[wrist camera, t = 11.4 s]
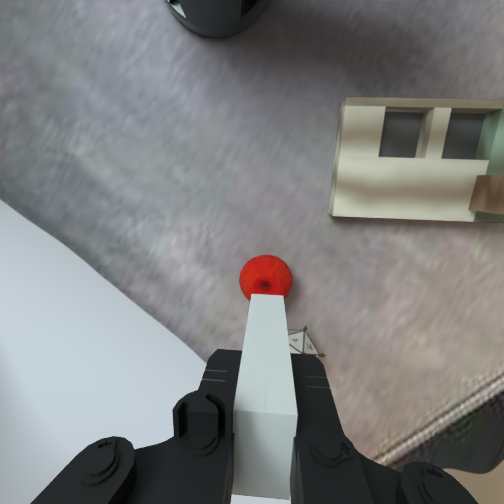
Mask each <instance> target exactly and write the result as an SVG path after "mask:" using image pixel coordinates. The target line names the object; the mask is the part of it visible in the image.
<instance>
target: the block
mask: <svg viewBox="0 0 504 504" xmlns="http://www.w3.org/2000/svg"><path fill="white" fill-rule="evenodd" d="M468 210H474V211H480V212H487V213H494V214H504V174H502V175H477V177H476V181H475V185H474V189H473V193H472V196H471V200H470V204H469V208H468Z"/></svg>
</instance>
